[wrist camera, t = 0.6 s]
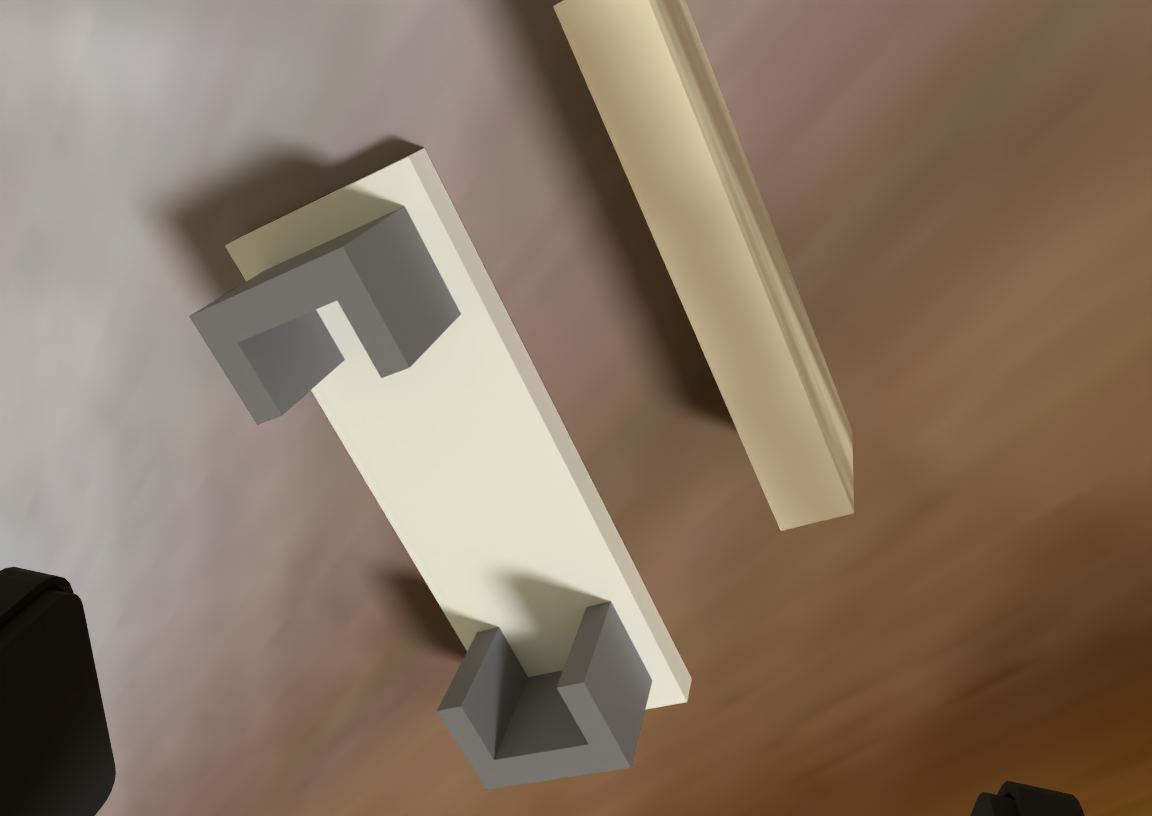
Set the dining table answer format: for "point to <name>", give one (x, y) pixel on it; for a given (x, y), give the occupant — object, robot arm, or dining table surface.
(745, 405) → the slat
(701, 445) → the dining table surface
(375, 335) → the end cap board
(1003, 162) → the dining table surface
